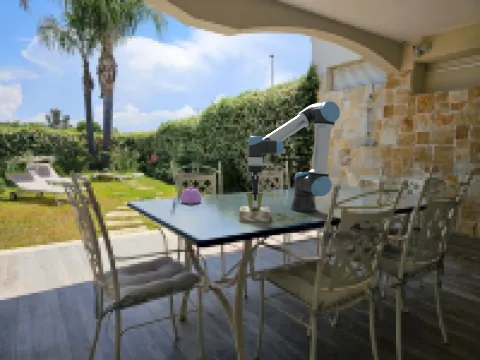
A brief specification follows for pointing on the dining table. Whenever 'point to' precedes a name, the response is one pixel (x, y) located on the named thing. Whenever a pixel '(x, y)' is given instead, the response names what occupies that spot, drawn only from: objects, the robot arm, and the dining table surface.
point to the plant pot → (250, 200)
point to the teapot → (191, 196)
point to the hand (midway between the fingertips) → (254, 204)
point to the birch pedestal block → (254, 214)
